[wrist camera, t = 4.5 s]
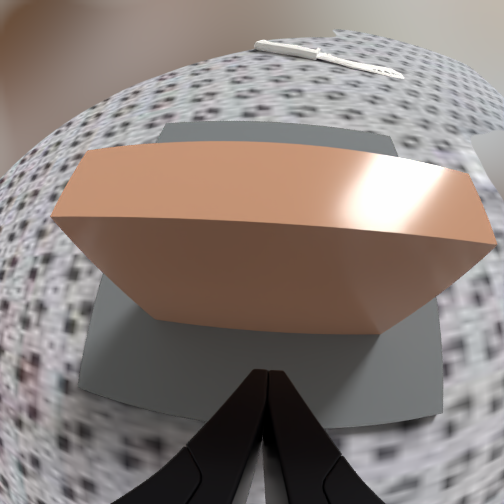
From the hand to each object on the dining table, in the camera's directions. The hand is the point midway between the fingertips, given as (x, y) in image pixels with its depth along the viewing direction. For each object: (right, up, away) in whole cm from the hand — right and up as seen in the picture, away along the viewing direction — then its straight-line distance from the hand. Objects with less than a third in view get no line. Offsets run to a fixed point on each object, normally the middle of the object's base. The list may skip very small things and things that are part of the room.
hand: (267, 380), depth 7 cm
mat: (+1, +5, +11) cm, 12 cm away
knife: (+15, +34, +28) cm, 46 cm away
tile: (+1, +1, +8) cm, 8 cm away
